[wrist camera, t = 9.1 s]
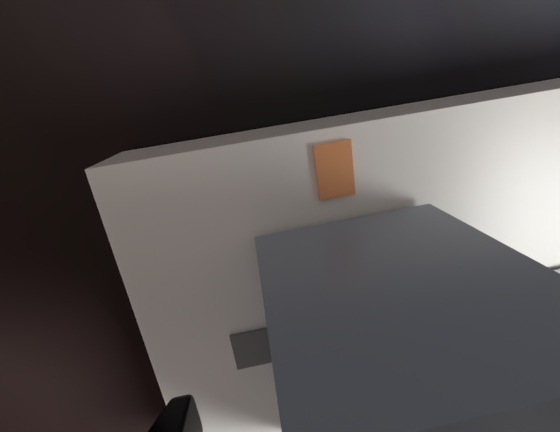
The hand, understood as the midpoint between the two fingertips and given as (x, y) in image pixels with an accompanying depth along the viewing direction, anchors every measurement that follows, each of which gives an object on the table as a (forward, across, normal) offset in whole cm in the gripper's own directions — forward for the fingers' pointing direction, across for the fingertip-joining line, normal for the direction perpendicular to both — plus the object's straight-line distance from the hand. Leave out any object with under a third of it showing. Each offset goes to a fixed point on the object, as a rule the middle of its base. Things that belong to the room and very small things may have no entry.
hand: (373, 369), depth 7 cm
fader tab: (+1, 0, 0) cm, 1 cm away
